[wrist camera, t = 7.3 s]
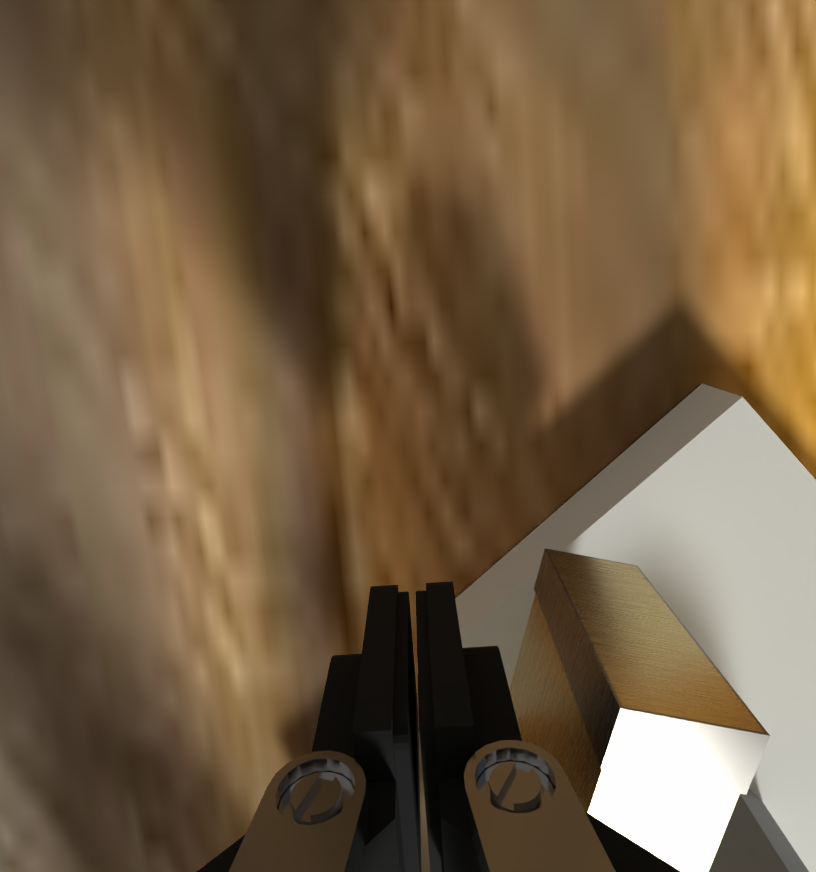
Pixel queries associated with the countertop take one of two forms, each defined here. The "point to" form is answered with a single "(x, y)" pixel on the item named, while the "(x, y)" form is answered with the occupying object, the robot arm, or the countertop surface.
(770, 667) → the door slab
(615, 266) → the countertop surface
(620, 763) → the bar
